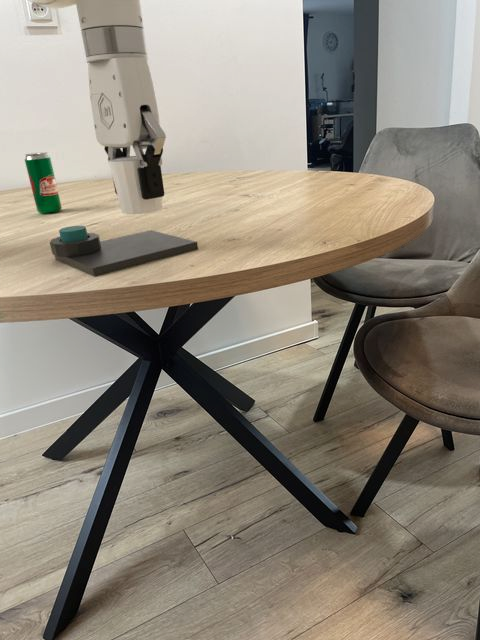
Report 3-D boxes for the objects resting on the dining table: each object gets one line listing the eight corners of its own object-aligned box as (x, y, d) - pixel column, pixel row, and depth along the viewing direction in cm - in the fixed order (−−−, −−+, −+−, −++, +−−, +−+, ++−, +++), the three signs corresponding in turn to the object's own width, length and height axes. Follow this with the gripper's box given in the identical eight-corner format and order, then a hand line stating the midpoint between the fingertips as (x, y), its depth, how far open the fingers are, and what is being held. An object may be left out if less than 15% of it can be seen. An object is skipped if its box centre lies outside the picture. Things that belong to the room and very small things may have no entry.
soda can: (47, 215, 108) (32, 154, 103) (32, 213, 110) (18, 154, 105) (67, 210, 112) (54, 151, 106) (52, 209, 114) (39, 151, 109)
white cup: (143, 204, 77) (135, 154, 74) (176, 206, 73) (170, 154, 70) (107, 213, 72) (97, 160, 69) (140, 216, 68) (131, 160, 65)
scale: (89, 278, 64) (83, 255, 63) (48, 260, 74) (43, 239, 72) (198, 249, 74) (195, 229, 73) (149, 236, 83) (146, 218, 82)
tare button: (67, 245, 70) (64, 232, 69) (57, 241, 72) (54, 229, 72) (92, 240, 72) (90, 227, 71) (81, 236, 74) (79, 224, 74)
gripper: (59, 55, 67) (87, 195, 75) (121, 38, 55) (147, 206, 63) (111, 55, 72) (133, 187, 79) (179, 39, 60) (197, 196, 67)
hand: (139, 194), depth 71 cm, fingers closed on white cup, 6 cm apart
